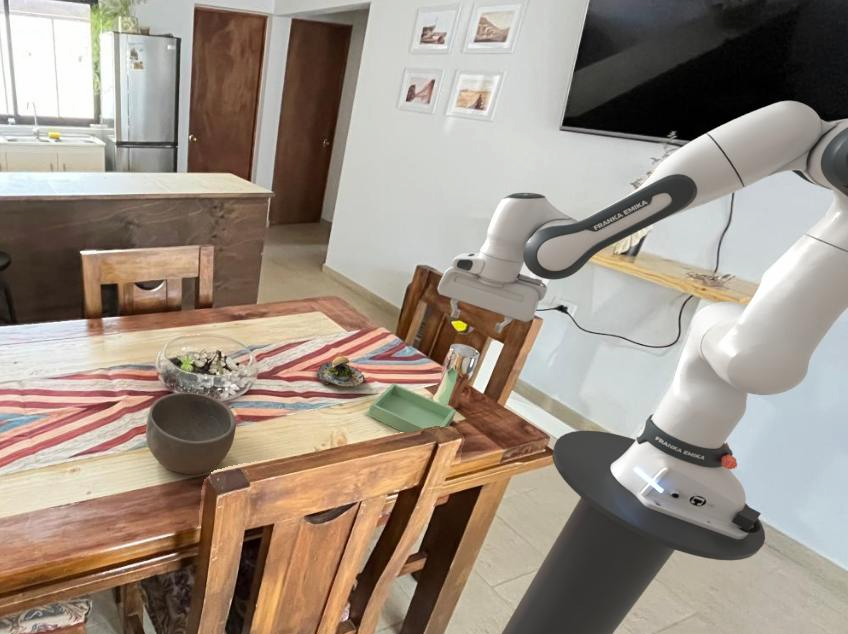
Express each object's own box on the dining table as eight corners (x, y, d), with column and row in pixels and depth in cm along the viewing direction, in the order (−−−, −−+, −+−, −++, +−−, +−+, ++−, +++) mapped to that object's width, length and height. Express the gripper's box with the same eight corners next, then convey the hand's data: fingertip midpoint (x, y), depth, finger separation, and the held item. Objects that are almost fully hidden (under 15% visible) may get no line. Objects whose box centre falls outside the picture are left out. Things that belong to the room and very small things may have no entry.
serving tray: (452, 420, 122) (456, 410, 121) (433, 446, 113) (438, 435, 111) (389, 393, 131) (393, 383, 129) (367, 415, 121) (370, 404, 120)
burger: (322, 390, 129) (328, 364, 125) (312, 365, 139) (318, 341, 136) (368, 393, 130) (376, 368, 126) (355, 369, 140) (362, 345, 137)
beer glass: (428, 392, 133) (446, 341, 126) (456, 397, 132) (476, 346, 125) (433, 406, 127) (452, 354, 120) (463, 412, 126) (484, 359, 119)
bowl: (213, 423, 113) (218, 385, 108) (244, 479, 98) (251, 438, 93) (135, 433, 107) (137, 393, 102) (155, 495, 92) (158, 451, 88)
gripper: (552, 279, 109) (527, 336, 115) (454, 252, 120) (435, 305, 126) (548, 286, 104) (521, 345, 111) (446, 257, 115) (427, 312, 121)
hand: (475, 324), depth 118 cm, fingers open, 8 cm apart
